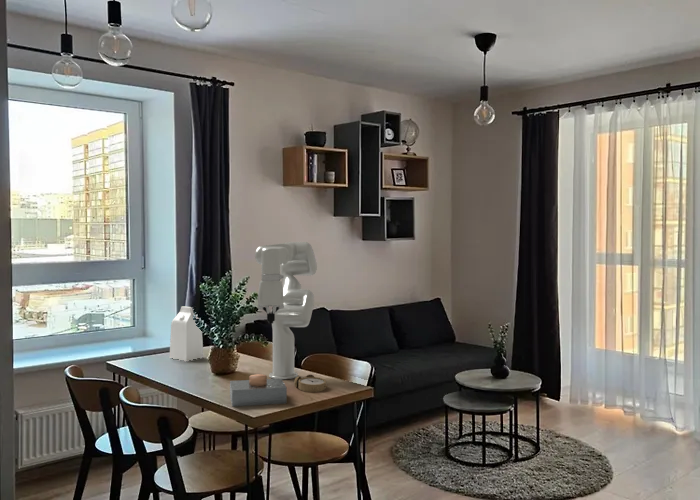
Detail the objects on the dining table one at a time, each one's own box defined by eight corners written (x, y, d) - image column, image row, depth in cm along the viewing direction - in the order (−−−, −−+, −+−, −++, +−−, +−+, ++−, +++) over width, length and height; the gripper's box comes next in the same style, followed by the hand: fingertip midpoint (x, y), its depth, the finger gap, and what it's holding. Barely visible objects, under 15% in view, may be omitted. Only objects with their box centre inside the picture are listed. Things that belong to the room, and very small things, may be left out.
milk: (203, 357, 327) (203, 306, 326) (186, 361, 317) (186, 308, 316) (186, 355, 333) (186, 305, 332) (169, 358, 323) (169, 307, 323)
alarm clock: (310, 386, 256) (288, 373, 267) (309, 398, 257) (287, 385, 268) (332, 382, 263) (309, 370, 274) (330, 393, 264) (308, 381, 275)
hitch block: (229, 396, 251) (229, 380, 251) (281, 393, 256) (281, 378, 256) (232, 406, 236) (232, 390, 236) (286, 403, 241) (286, 387, 241)
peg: (248, 396, 249) (248, 374, 248) (265, 395, 250) (265, 374, 250) (250, 401, 242) (250, 378, 242) (267, 400, 244) (267, 377, 243)
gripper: (287, 277, 268) (287, 321, 269) (251, 277, 265) (251, 322, 265) (290, 278, 261) (290, 323, 262) (253, 279, 257) (253, 325, 258)
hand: (270, 322), depth 263 cm, fingers closed
